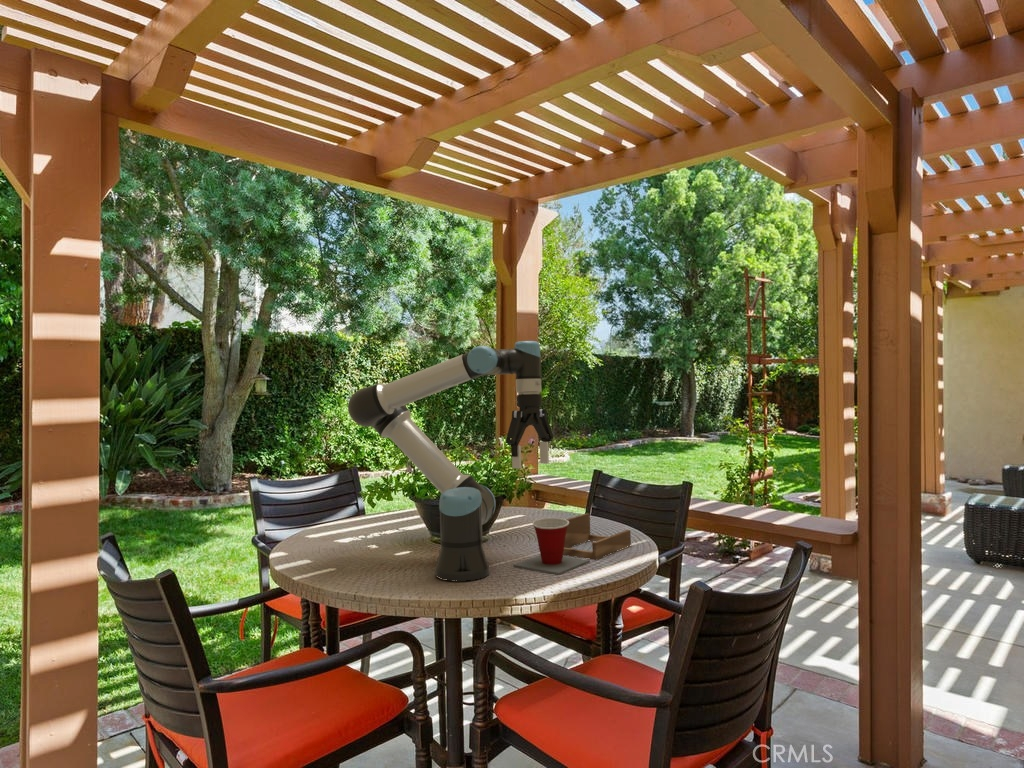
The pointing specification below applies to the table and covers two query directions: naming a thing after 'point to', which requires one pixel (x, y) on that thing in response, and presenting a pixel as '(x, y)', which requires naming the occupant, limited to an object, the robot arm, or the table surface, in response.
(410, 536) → the table surface
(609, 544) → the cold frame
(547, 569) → the mat
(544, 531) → the plastic cup
